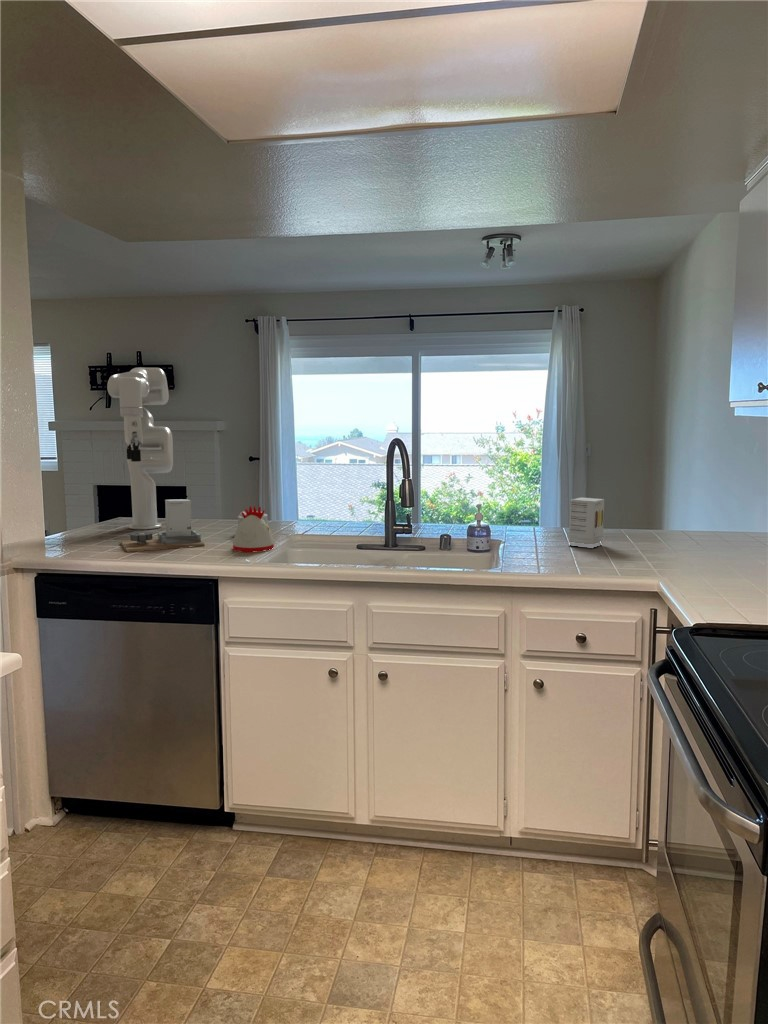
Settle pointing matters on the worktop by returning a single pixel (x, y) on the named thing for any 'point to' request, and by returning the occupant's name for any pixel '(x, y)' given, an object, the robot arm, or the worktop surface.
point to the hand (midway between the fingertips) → (133, 460)
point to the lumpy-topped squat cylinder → (240, 517)
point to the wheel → (141, 536)
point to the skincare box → (178, 517)
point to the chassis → (164, 542)
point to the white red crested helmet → (253, 533)
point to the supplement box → (586, 520)
